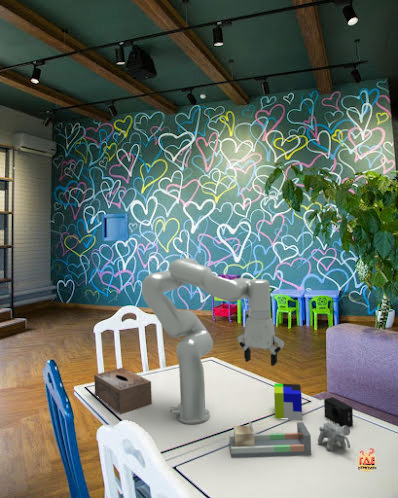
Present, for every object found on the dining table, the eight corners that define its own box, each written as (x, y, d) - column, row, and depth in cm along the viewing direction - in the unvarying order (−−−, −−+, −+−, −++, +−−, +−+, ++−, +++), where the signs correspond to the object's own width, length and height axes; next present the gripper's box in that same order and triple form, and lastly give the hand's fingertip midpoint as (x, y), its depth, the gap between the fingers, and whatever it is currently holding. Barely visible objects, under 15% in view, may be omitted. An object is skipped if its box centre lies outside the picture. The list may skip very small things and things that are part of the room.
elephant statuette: (330, 437, 133) (328, 415, 133) (363, 449, 123) (361, 425, 124) (313, 447, 127) (311, 423, 127) (347, 460, 118) (344, 435, 118)
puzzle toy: (302, 420, 146) (301, 394, 145) (275, 419, 148) (274, 392, 147) (300, 409, 155) (300, 384, 155) (275, 408, 157) (274, 383, 157)
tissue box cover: (95, 396, 177) (94, 374, 177) (123, 388, 186) (123, 367, 185) (121, 415, 156) (120, 390, 156) (151, 404, 165) (151, 381, 165)
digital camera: (321, 417, 147) (321, 399, 147) (333, 414, 149) (332, 396, 149) (340, 429, 138) (340, 409, 138) (353, 426, 140) (352, 406, 140)
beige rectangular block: (236, 452, 122) (235, 434, 122) (233, 438, 131) (233, 422, 131) (255, 451, 122) (254, 434, 122) (251, 438, 131) (251, 421, 131)
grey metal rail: (231, 457, 122) (231, 448, 122) (229, 442, 131) (229, 434, 131) (311, 454, 122) (310, 446, 122) (303, 440, 131) (303, 432, 131)
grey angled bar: (304, 451, 122) (304, 435, 122) (297, 437, 131) (297, 422, 131) (311, 451, 122) (310, 435, 122) (303, 436, 131) (303, 422, 131)
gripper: (232, 314, 138) (233, 362, 139) (279, 318, 129) (280, 369, 129) (241, 311, 145) (242, 356, 145) (286, 314, 135) (287, 363, 136)
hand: (260, 362), depth 137 cm, fingers open, 9 cm apart
